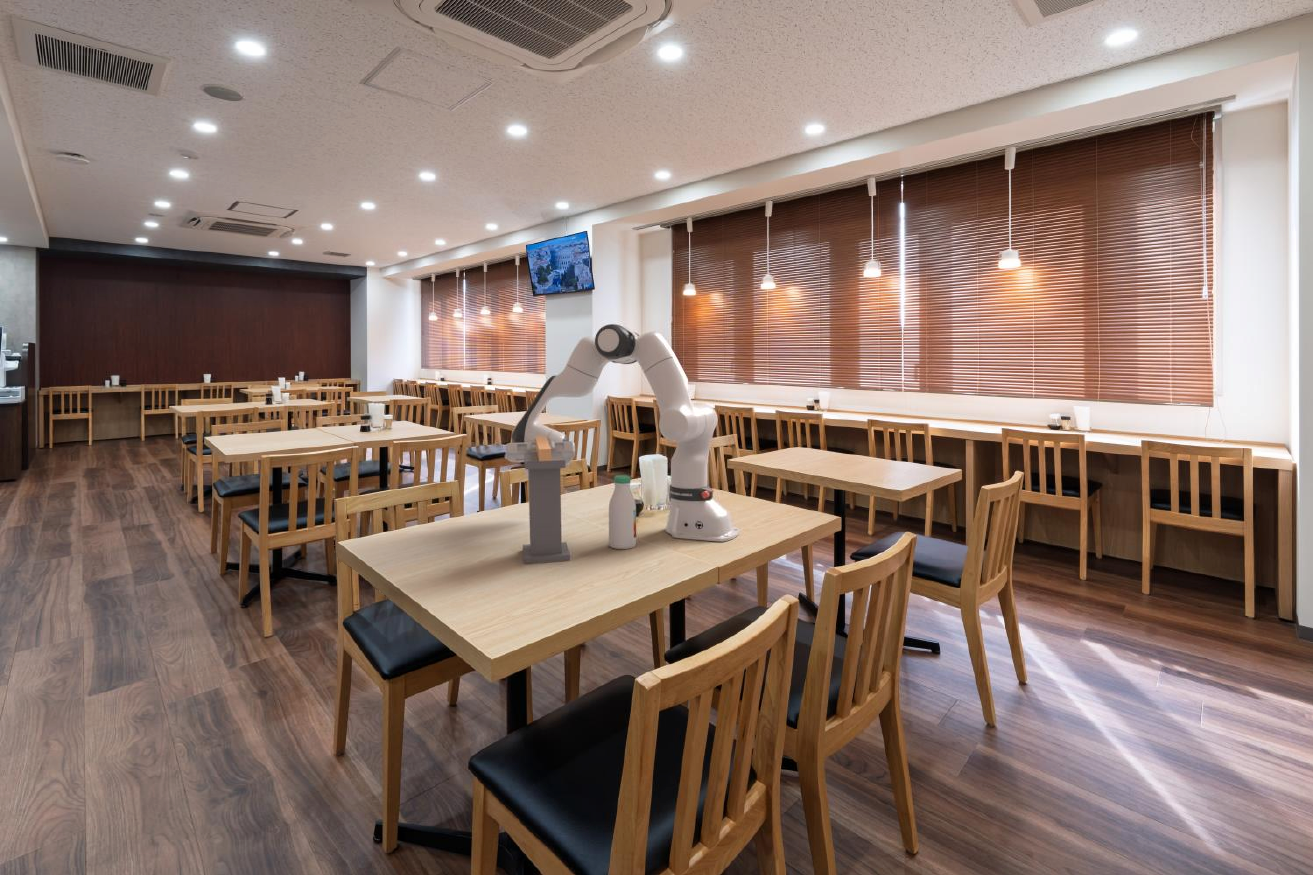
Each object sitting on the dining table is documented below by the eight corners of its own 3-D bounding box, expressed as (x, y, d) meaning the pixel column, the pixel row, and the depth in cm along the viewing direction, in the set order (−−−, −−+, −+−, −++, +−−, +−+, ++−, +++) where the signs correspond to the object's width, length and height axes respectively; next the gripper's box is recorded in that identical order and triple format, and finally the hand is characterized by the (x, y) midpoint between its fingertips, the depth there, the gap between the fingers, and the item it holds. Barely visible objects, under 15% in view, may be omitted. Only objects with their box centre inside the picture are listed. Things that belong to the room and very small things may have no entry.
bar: (535, 446, 185) (535, 436, 185) (546, 446, 186) (545, 435, 186) (539, 461, 160) (538, 449, 160) (551, 460, 161) (551, 448, 160)
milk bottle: (630, 551, 175) (629, 479, 173) (604, 548, 178) (603, 477, 175) (640, 543, 183) (640, 474, 180) (615, 540, 185) (615, 473, 183)
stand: (522, 547, 178) (520, 452, 175) (565, 545, 181) (564, 450, 177) (523, 566, 163) (520, 461, 159) (570, 562, 165) (569, 460, 162)
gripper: (504, 449, 194) (503, 431, 181) (572, 447, 198) (575, 430, 186) (505, 469, 191) (504, 452, 179) (573, 466, 196) (577, 450, 183)
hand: (541, 441), depth 182 cm, fingers closed on bar, 3 cm apart
